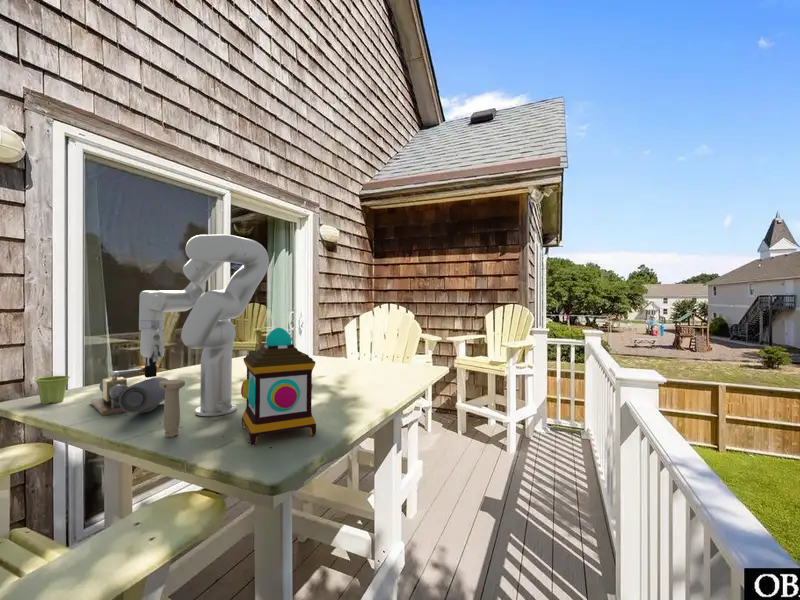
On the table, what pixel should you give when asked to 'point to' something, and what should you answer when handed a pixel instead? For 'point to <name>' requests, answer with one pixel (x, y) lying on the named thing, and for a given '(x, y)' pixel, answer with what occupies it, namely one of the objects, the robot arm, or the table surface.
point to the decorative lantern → (277, 388)
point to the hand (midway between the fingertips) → (150, 376)
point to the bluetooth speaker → (142, 396)
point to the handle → (171, 406)
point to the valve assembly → (110, 395)
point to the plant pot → (52, 388)
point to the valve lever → (128, 371)
